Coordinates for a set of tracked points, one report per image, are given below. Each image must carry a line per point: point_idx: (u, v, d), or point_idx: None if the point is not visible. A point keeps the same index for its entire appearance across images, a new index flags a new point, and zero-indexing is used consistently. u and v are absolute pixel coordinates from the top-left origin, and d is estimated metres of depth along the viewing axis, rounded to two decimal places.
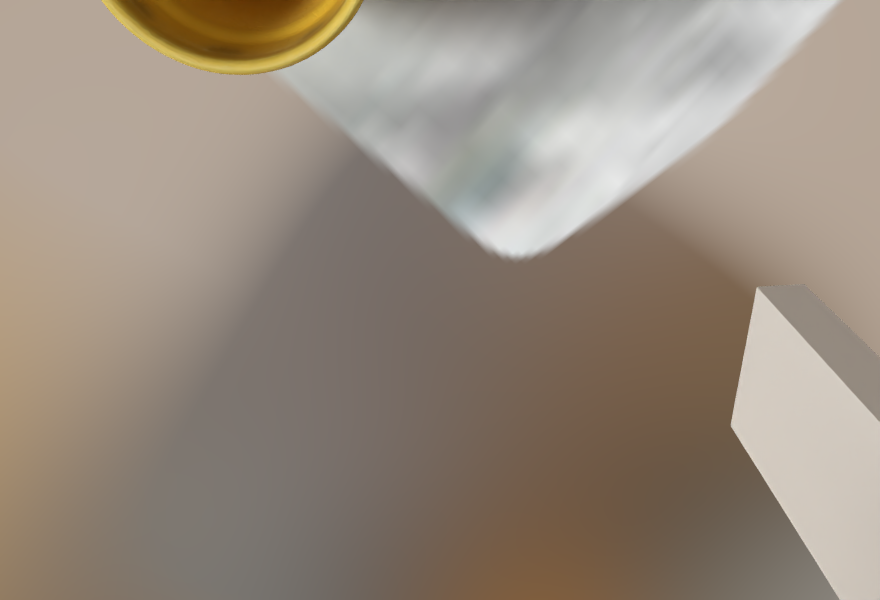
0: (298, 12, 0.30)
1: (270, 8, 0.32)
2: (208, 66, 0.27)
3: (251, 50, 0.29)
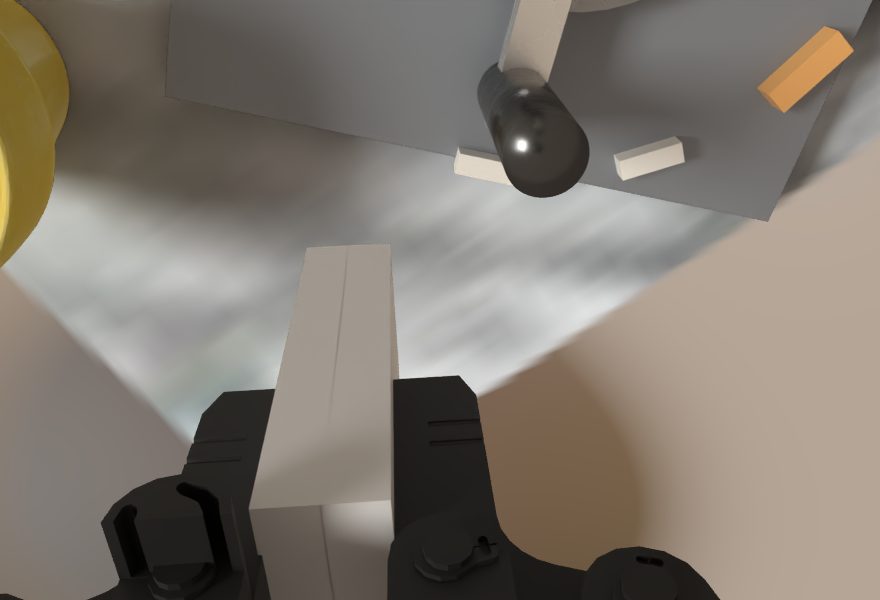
0: None
1: None
2: None
3: None
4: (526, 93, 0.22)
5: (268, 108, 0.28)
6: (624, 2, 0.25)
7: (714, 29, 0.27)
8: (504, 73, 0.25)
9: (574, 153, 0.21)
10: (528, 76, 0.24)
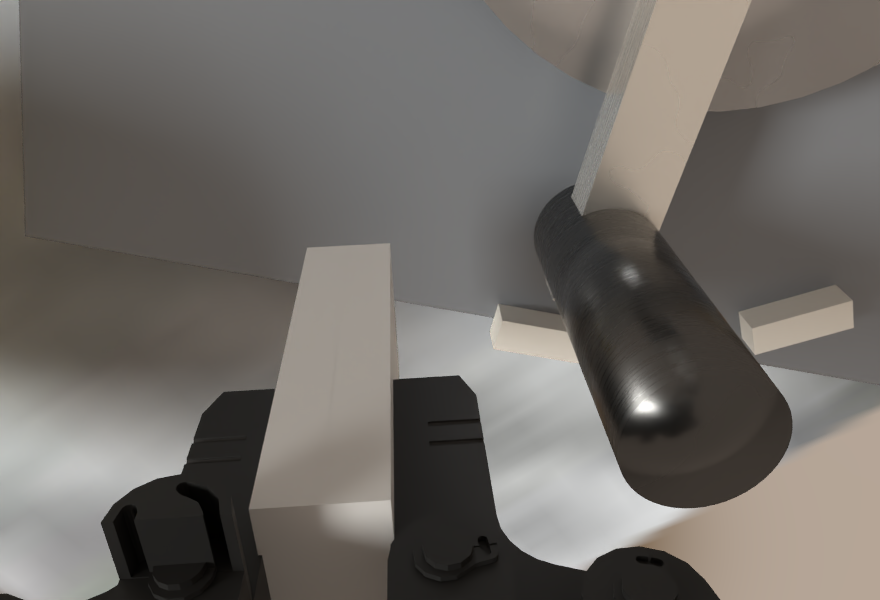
0: None
1: None
2: None
3: None
4: (649, 290, 0.12)
5: (195, 252, 0.17)
6: (792, 95, 0.15)
7: None
8: (588, 220, 0.14)
9: (761, 436, 0.10)
10: (636, 234, 0.14)
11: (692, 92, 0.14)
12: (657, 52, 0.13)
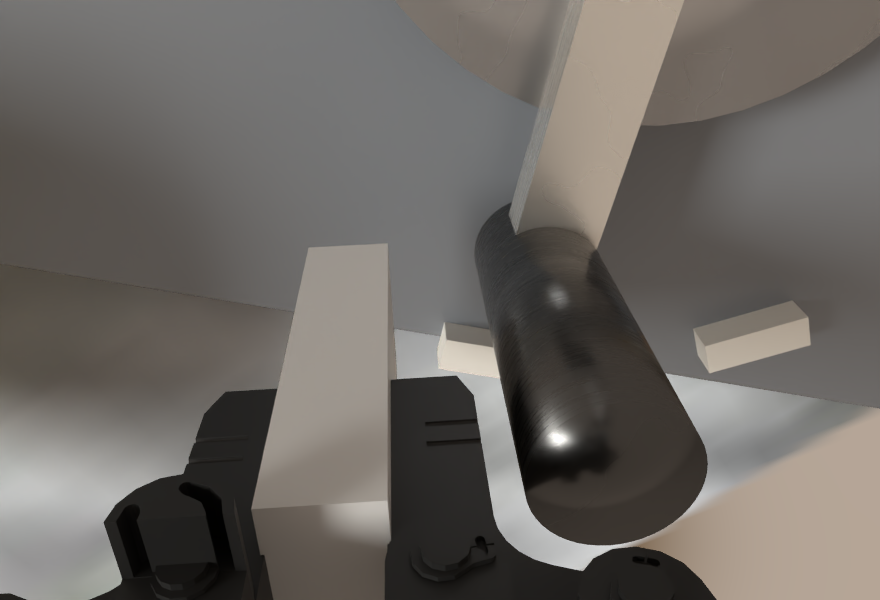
0: None
1: None
2: None
3: None
4: (567, 315, 0.11)
5: (130, 271, 0.17)
6: (732, 108, 0.14)
7: (870, 140, 0.16)
8: (521, 239, 0.14)
9: (675, 471, 0.10)
10: (566, 254, 0.13)
11: (624, 107, 0.13)
12: (584, 66, 0.13)
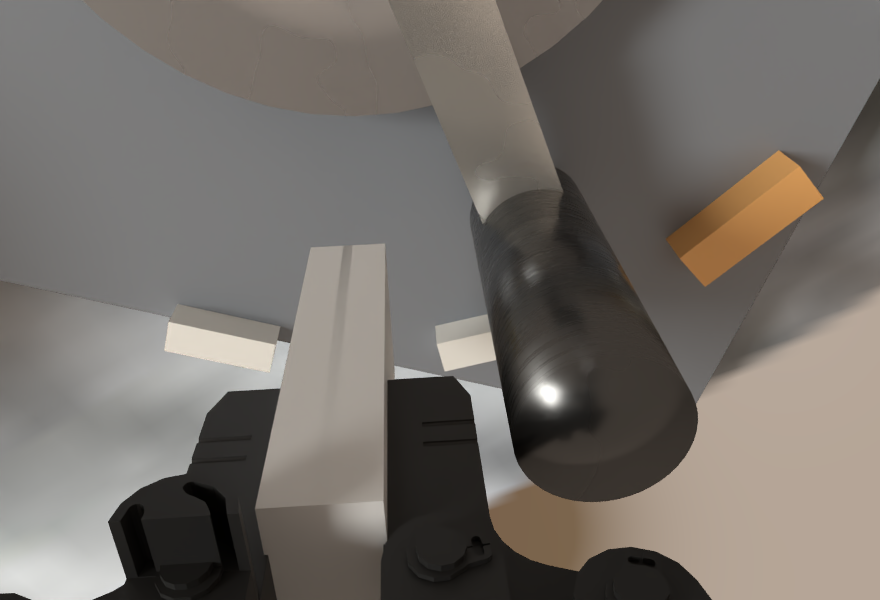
0: None
1: None
2: None
3: None
4: (516, 294, 0.11)
5: None
6: None
7: (594, 146, 0.16)
8: (486, 227, 0.14)
9: (655, 400, 0.10)
10: (519, 223, 0.13)
11: (493, 63, 0.13)
12: (432, 55, 0.13)
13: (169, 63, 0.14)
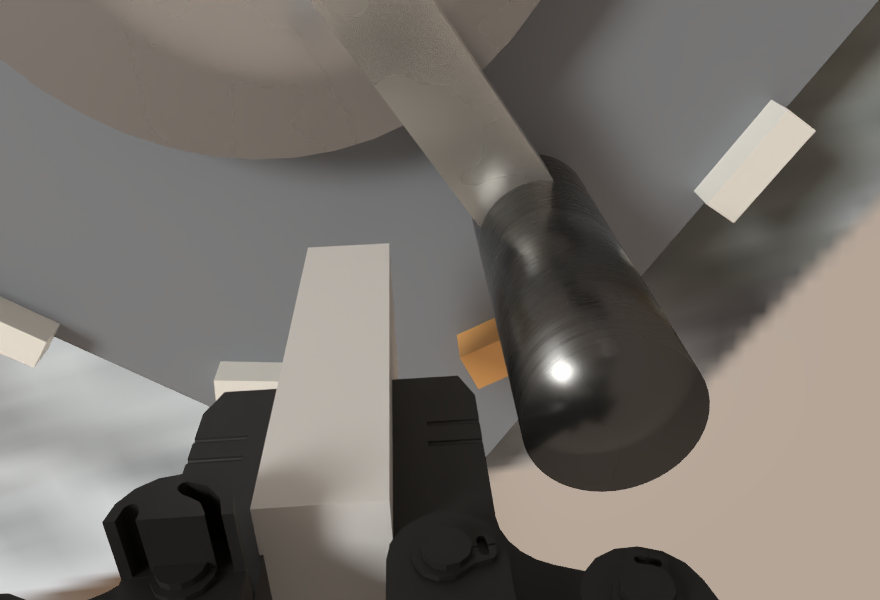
0: None
1: None
2: None
3: None
4: (511, 295, 0.11)
5: None
6: None
7: (407, 235, 0.17)
8: (483, 231, 0.14)
9: (657, 378, 0.09)
10: (510, 222, 0.13)
11: (451, 71, 0.13)
12: (391, 77, 0.13)
13: (152, 140, 0.14)
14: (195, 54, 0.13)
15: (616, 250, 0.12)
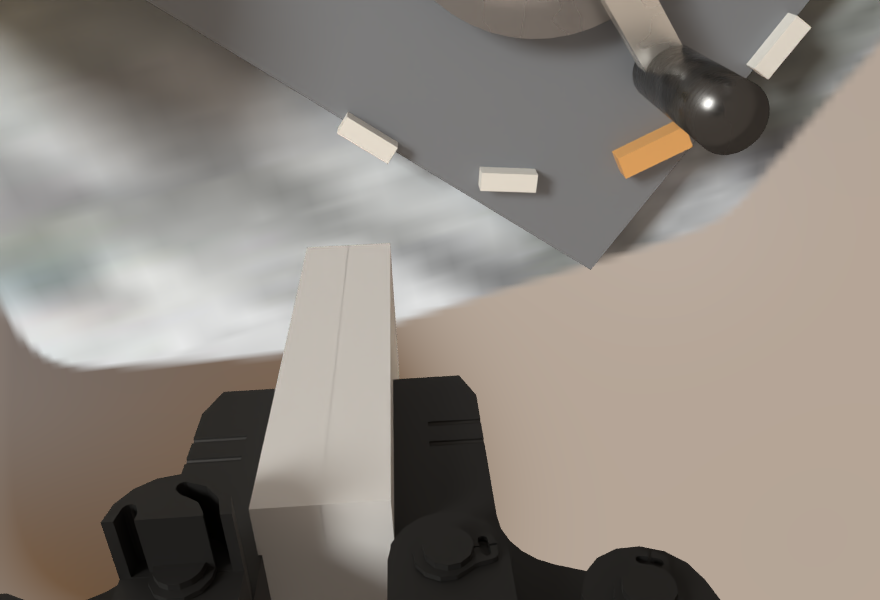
0: None
1: None
2: None
3: None
4: (677, 83, 0.26)
5: (184, 13, 0.29)
6: None
7: (591, 89, 0.32)
8: (648, 71, 0.29)
9: (749, 97, 0.24)
10: (667, 61, 0.28)
11: None
12: None
13: (483, 28, 0.29)
14: None
15: None
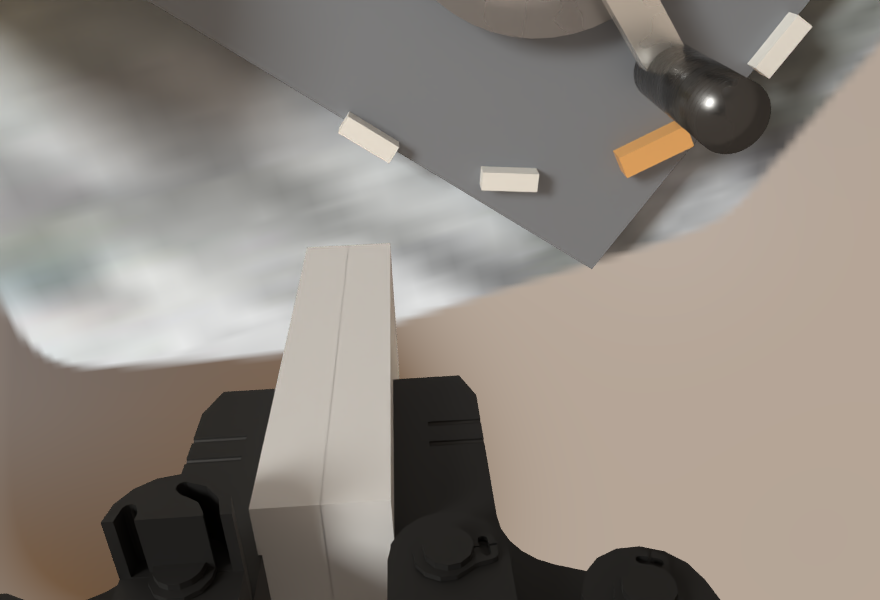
0: None
1: None
2: None
3: None
4: (679, 82, 0.26)
5: (185, 13, 0.29)
6: None
7: (592, 89, 0.32)
8: (649, 71, 0.29)
9: (750, 97, 0.24)
10: (668, 61, 0.28)
11: None
12: None
13: (484, 28, 0.29)
14: None
15: None
